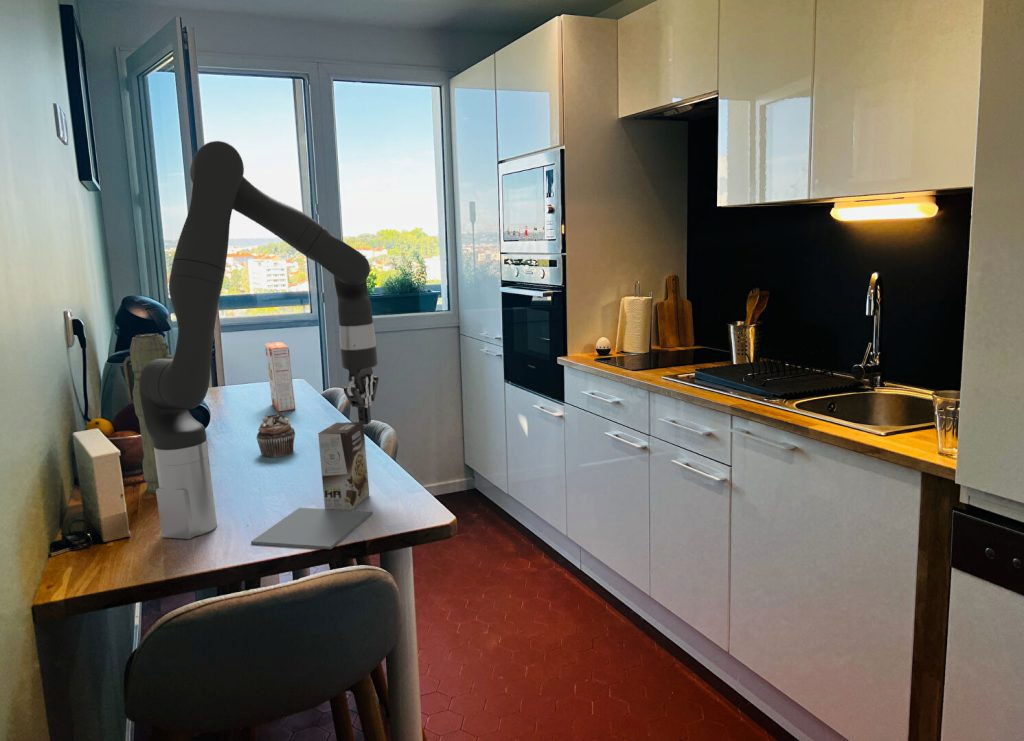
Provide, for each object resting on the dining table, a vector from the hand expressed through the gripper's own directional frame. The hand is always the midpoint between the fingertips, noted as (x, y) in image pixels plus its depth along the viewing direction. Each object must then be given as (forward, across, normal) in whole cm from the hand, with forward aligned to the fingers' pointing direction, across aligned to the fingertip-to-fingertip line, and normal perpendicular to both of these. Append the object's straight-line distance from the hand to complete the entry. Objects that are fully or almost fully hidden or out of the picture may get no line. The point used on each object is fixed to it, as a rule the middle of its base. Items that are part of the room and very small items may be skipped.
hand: (365, 423), depth 165 cm
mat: (+14, -25, 0) cm, 29 cm away
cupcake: (+14, +21, +36) cm, 44 cm away
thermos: (+14, -7, +47) cm, 49 cm away
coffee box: (+14, -11, 0) cm, 18 cm away
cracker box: (+15, +70, +63) cm, 96 cm away
